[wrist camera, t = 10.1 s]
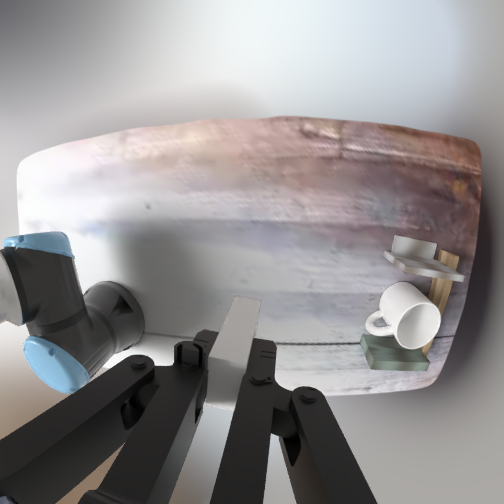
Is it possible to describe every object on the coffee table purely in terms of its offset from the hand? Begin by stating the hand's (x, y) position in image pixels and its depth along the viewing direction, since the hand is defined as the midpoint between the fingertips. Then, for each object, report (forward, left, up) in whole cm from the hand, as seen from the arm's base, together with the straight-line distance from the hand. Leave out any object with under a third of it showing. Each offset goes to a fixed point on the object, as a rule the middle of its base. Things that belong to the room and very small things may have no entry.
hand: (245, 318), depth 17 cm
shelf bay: (+26, -8, -32) cm, 43 cm away
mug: (+24, -10, -33) cm, 41 cm away
